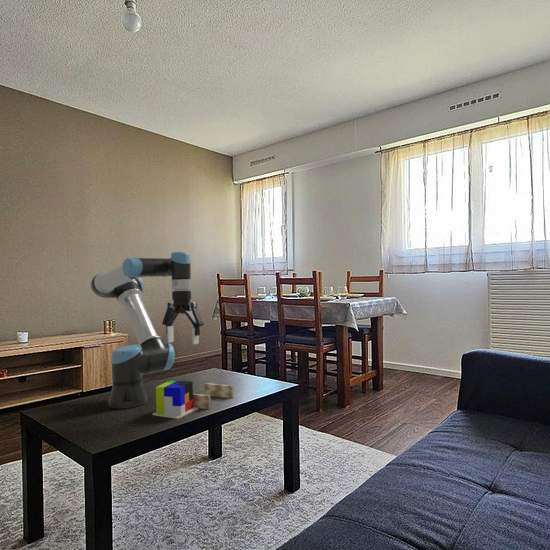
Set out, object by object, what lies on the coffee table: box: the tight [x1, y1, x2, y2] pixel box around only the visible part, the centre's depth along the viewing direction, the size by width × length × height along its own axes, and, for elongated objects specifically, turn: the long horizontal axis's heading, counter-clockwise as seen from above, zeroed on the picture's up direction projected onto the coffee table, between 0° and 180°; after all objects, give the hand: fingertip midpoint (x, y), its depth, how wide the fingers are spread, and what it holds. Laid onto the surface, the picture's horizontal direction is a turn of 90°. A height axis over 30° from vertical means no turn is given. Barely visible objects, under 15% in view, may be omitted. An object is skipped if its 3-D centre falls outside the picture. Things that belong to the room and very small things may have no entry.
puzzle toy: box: [155, 380, 194, 416], centre depth 157 cm, size 10×10×10 cm
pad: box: [152, 407, 199, 420], centre depth 157 cm, size 12×12×1 cm
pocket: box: [193, 382, 234, 410], centre depth 170 cm, size 14×17×5 cm
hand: (183, 343), depth 167 cm, fingers open, 13 cm apart
